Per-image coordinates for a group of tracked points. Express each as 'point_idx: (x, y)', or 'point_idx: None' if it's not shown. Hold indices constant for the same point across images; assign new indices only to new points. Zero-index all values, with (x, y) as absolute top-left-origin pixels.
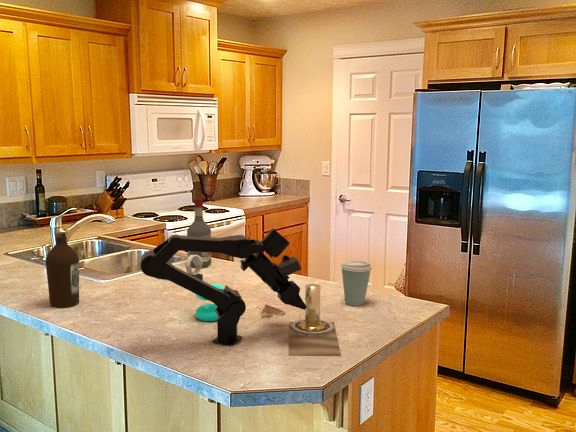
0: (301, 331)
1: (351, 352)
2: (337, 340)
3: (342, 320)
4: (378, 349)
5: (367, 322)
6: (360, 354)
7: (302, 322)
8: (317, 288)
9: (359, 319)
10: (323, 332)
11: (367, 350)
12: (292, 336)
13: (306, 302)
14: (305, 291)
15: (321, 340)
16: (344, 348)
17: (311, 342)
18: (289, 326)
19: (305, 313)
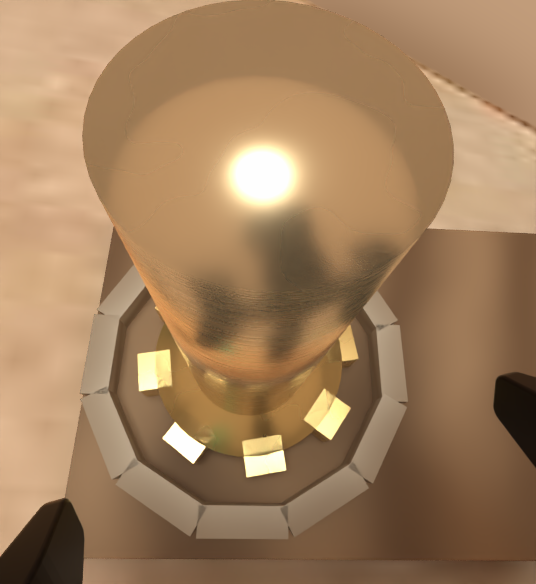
0: (382, 451)
1: (515, 192)
2: (427, 230)
3: (40, 169)
4: (453, 86)
5: (97, 63)
6: (529, 160)
7: (195, 435)
8: (398, 71)
9: (42, 88)
10: (377, 291)
11: (474, 126)
12: (402, 527)
13: (310, 365)
14: (274, 337)
15: (443, 319)
16: (472, 215)
17: (488, 385)
18: (177, 554)
19: (271, 399)
